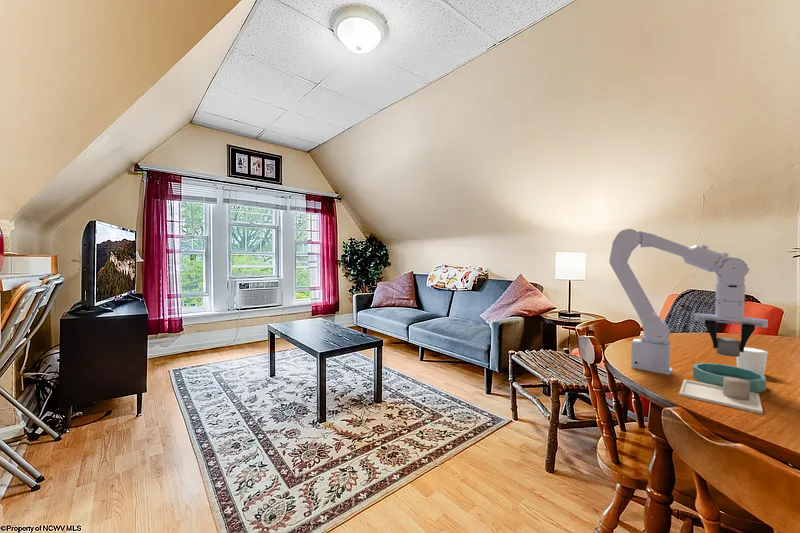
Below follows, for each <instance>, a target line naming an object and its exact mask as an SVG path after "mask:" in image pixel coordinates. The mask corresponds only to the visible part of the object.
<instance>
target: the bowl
mask: <svg viewBox="0 0 800 533" xmlns="http://www.w3.org/2000/svg"><path fill="white" fill-rule="evenodd" d="M692 366H693V367H692V368H693V369H692V377H693V379H696V380H697V381H698V382H701V383H706V384H711V385H716V386H721V387H723V378H724V377H735V378H740V379H744V380H747V381H749V382H750V392H752V393H757V394H758V393H763V392H766V390H767V378H766V375H765V374H764V375H762V374H759V373H757V372H755V371H751V370H747V369H743V368H739V367H737V366H735V365H734V366H733V365H729V364H728V365H727V364H720V363H713V362H711V363H710V362H699V363H694V364H693V365H692Z"/></svg>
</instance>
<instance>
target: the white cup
mask: <svg viewBox="0 0 800 533" xmlns="http://www.w3.org/2000/svg"><path fill="white" fill-rule="evenodd" d="M768 354H769V351H768V350H765V349H760V348H756V347H748V346H745V347H744V352H740V356H738V357H735V360H736V367H739V368H743V369H747V370H751V371H755V372H757V373H759V374H762V375H764V376H765V372H766V366H767V359H768Z"/></svg>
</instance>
